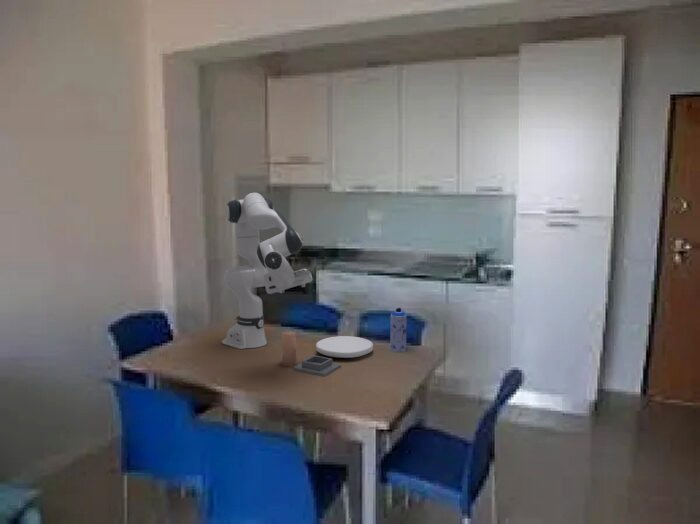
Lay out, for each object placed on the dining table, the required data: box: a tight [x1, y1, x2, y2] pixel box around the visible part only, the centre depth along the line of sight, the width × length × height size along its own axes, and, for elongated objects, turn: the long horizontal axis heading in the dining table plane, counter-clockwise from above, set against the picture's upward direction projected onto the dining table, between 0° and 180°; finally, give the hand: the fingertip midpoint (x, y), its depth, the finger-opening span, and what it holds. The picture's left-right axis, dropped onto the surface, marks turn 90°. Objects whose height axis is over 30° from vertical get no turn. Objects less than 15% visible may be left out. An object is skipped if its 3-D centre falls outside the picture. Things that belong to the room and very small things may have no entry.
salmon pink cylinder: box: [281, 330, 297, 367], centre depth 260 cm, size 6×6×14 cm
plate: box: [315, 335, 374, 359], centre depth 277 cm, size 28×6×27 cm
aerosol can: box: [389, 307, 407, 353], centre depth 279 cm, size 8×8×20 cm
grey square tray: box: [292, 354, 342, 377], centre depth 255 cm, size 16×13×4 cm
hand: (293, 288), depth 258 cm, fingers open, 8 cm apart
